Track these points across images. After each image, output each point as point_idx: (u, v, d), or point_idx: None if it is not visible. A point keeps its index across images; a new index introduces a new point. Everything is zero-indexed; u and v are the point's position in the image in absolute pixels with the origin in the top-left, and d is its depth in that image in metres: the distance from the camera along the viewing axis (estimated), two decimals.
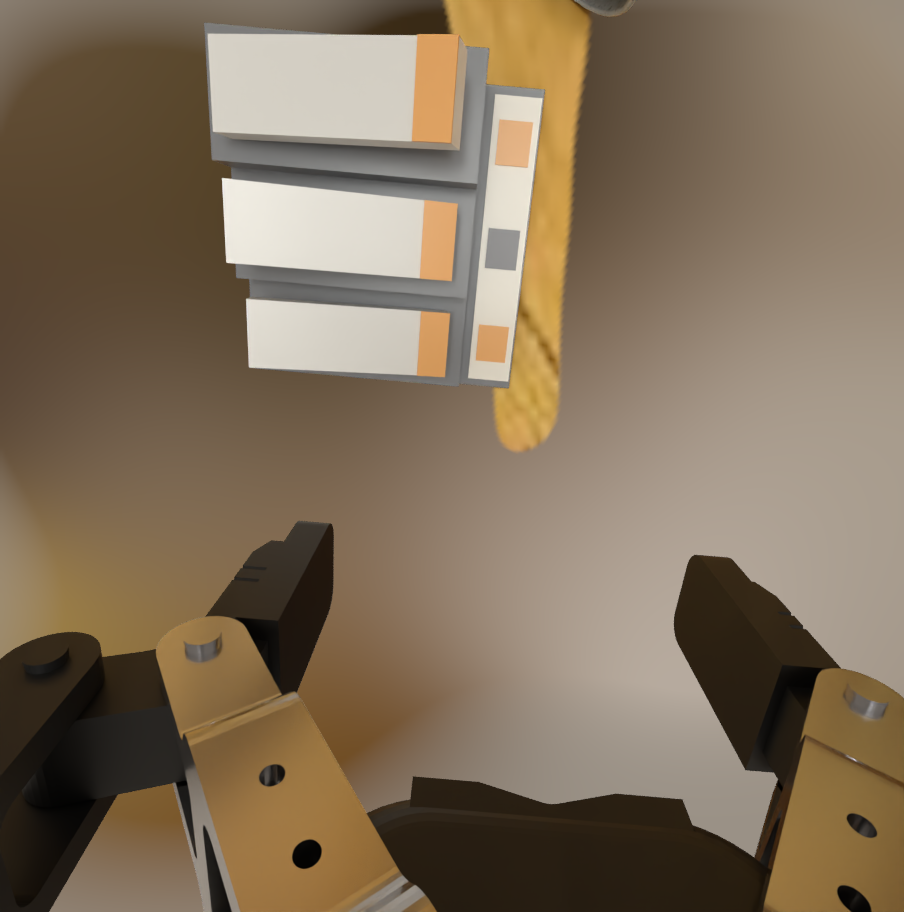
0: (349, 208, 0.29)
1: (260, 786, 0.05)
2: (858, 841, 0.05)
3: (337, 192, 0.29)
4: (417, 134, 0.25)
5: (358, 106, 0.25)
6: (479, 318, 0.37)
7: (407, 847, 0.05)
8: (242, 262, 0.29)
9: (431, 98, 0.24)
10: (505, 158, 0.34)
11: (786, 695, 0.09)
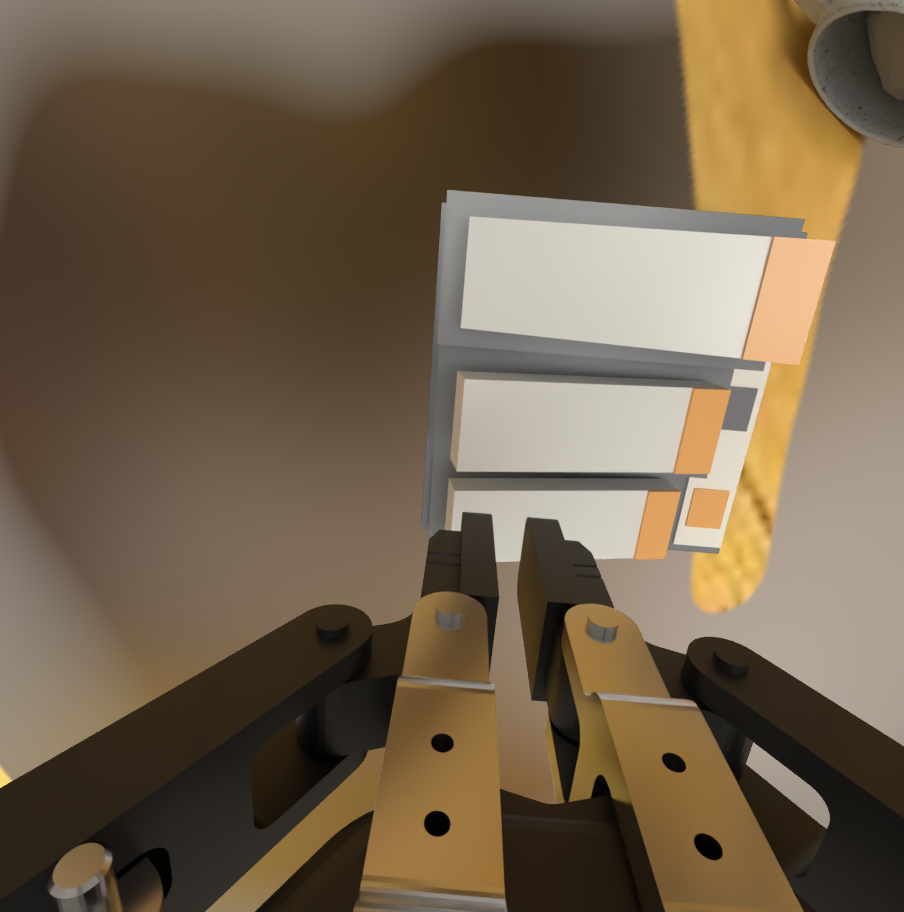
0: (606, 402, 0.24)
1: (430, 745, 0.06)
2: (676, 778, 0.06)
3: (595, 386, 0.23)
4: (752, 353, 0.19)
5: (671, 312, 0.19)
6: (693, 480, 0.32)
7: None
8: (475, 469, 0.24)
9: (780, 312, 0.19)
10: None
11: (555, 629, 0.10)
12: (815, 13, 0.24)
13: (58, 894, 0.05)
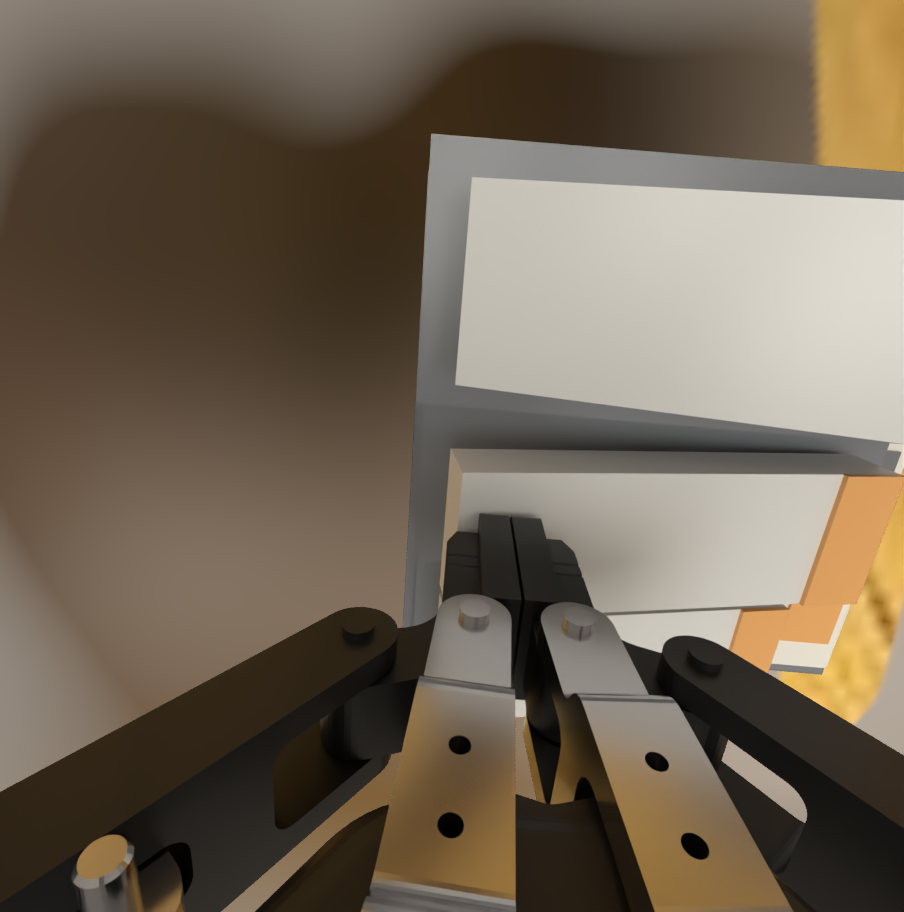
0: (702, 502, 0.14)
1: (448, 747, 0.06)
2: (660, 777, 0.06)
3: (686, 477, 0.14)
4: None
5: (872, 367, 0.10)
6: None
7: None
8: None
9: None
10: None
11: (533, 627, 0.10)
12: None
13: (81, 884, 0.05)
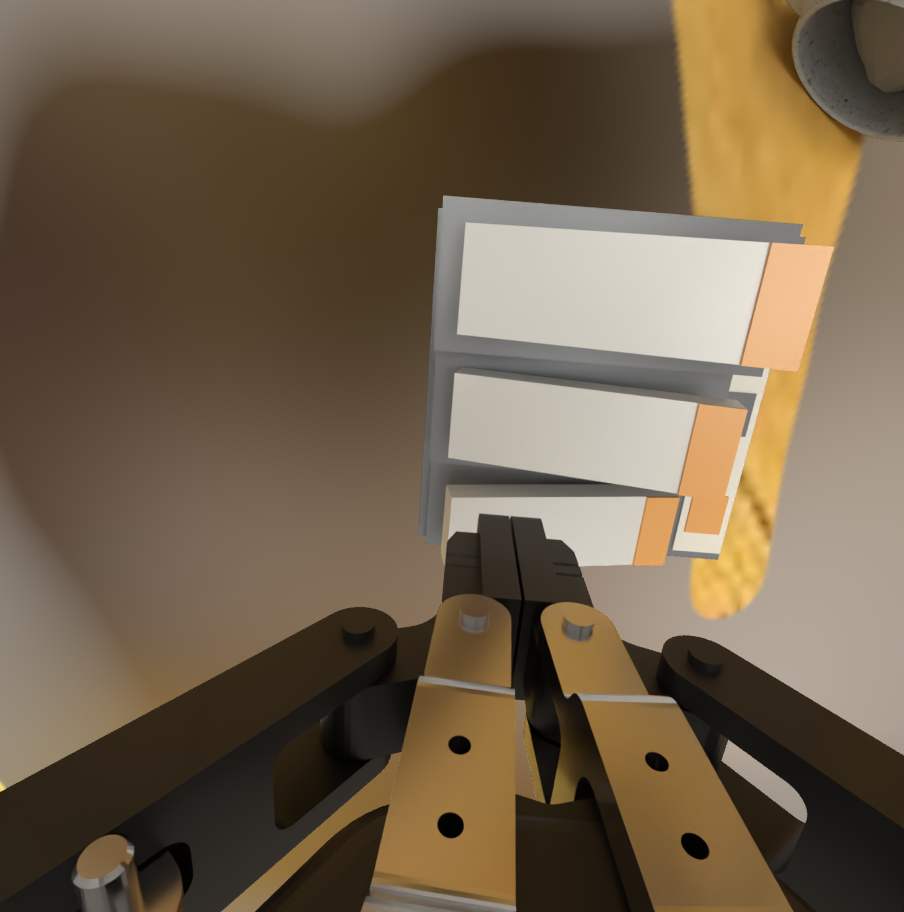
0: (596, 409, 0.23)
1: (448, 748, 0.06)
2: (659, 777, 0.06)
3: (584, 390, 0.23)
4: (750, 359, 0.19)
5: (668, 319, 0.19)
6: None
7: None
8: (464, 458, 0.26)
9: (778, 319, 0.18)
10: None
11: (534, 627, 0.10)
12: (799, 4, 0.23)
13: (81, 884, 0.05)
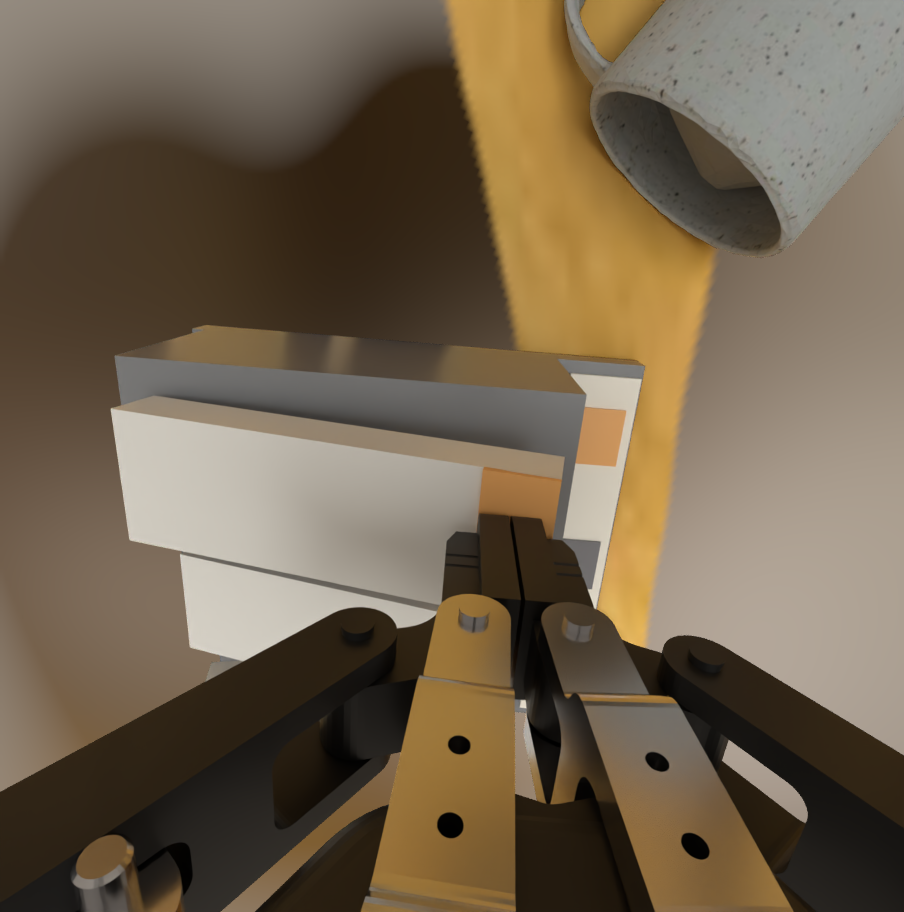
0: None
1: (447, 746, 0.06)
2: (660, 777, 0.06)
3: (328, 589, 0.18)
4: None
5: (373, 547, 0.14)
6: None
7: None
8: (208, 650, 0.21)
9: None
10: (582, 453, 0.23)
11: (533, 628, 0.10)
12: (595, 81, 0.18)
13: (81, 884, 0.05)
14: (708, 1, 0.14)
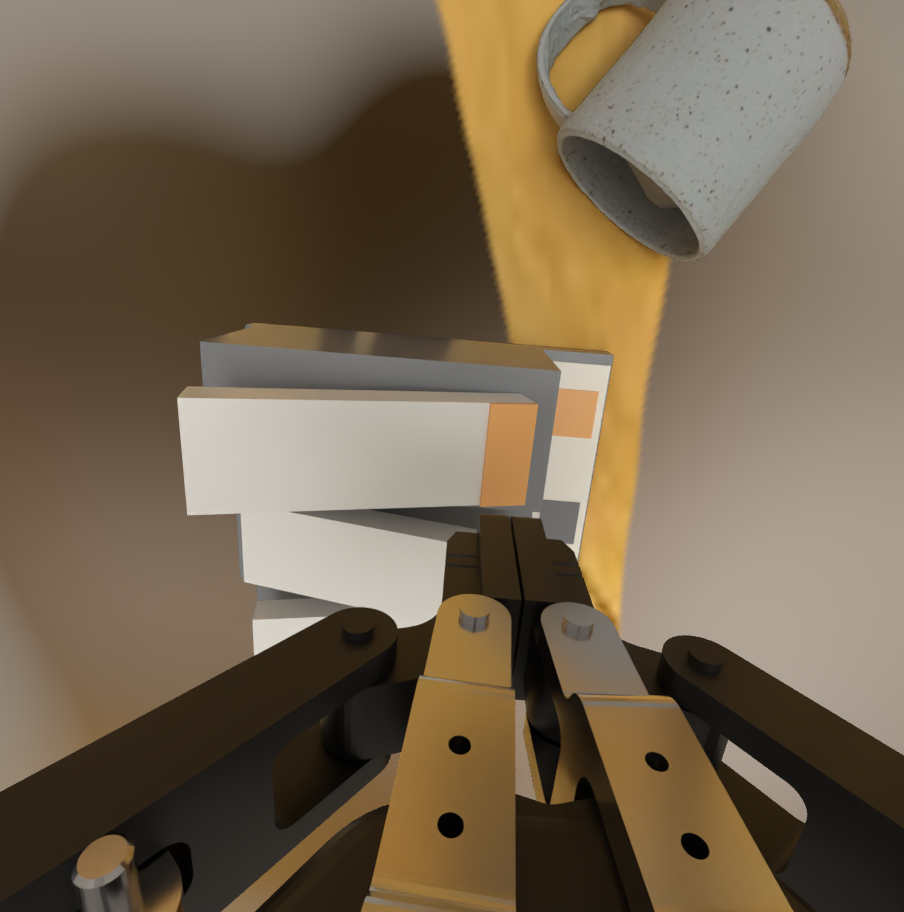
0: (373, 545, 0.23)
1: (448, 746, 0.06)
2: (660, 778, 0.06)
3: (359, 527, 0.23)
4: (487, 500, 0.21)
5: (413, 474, 0.20)
6: None
7: None
8: (259, 583, 0.25)
9: (504, 465, 0.20)
10: (564, 427, 0.28)
11: (534, 628, 0.10)
12: (561, 125, 0.23)
13: (81, 884, 0.05)
14: (637, 73, 0.19)
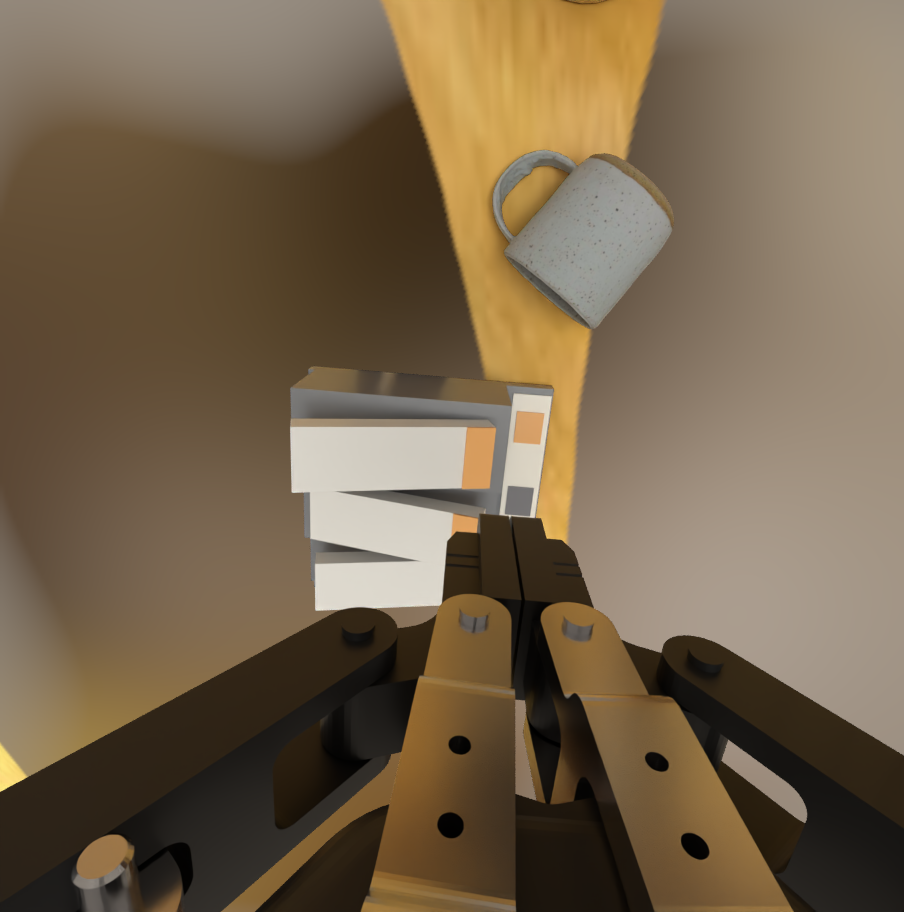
0: (395, 513, 0.37)
1: (447, 748, 0.06)
2: (659, 776, 0.06)
3: (387, 502, 0.37)
4: (466, 485, 0.34)
5: (421, 469, 0.33)
6: None
7: None
8: (320, 539, 0.39)
9: (476, 464, 0.34)
10: (521, 437, 0.41)
11: (534, 628, 0.10)
12: (508, 241, 0.36)
13: (81, 884, 0.05)
14: (546, 227, 0.32)
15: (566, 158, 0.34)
